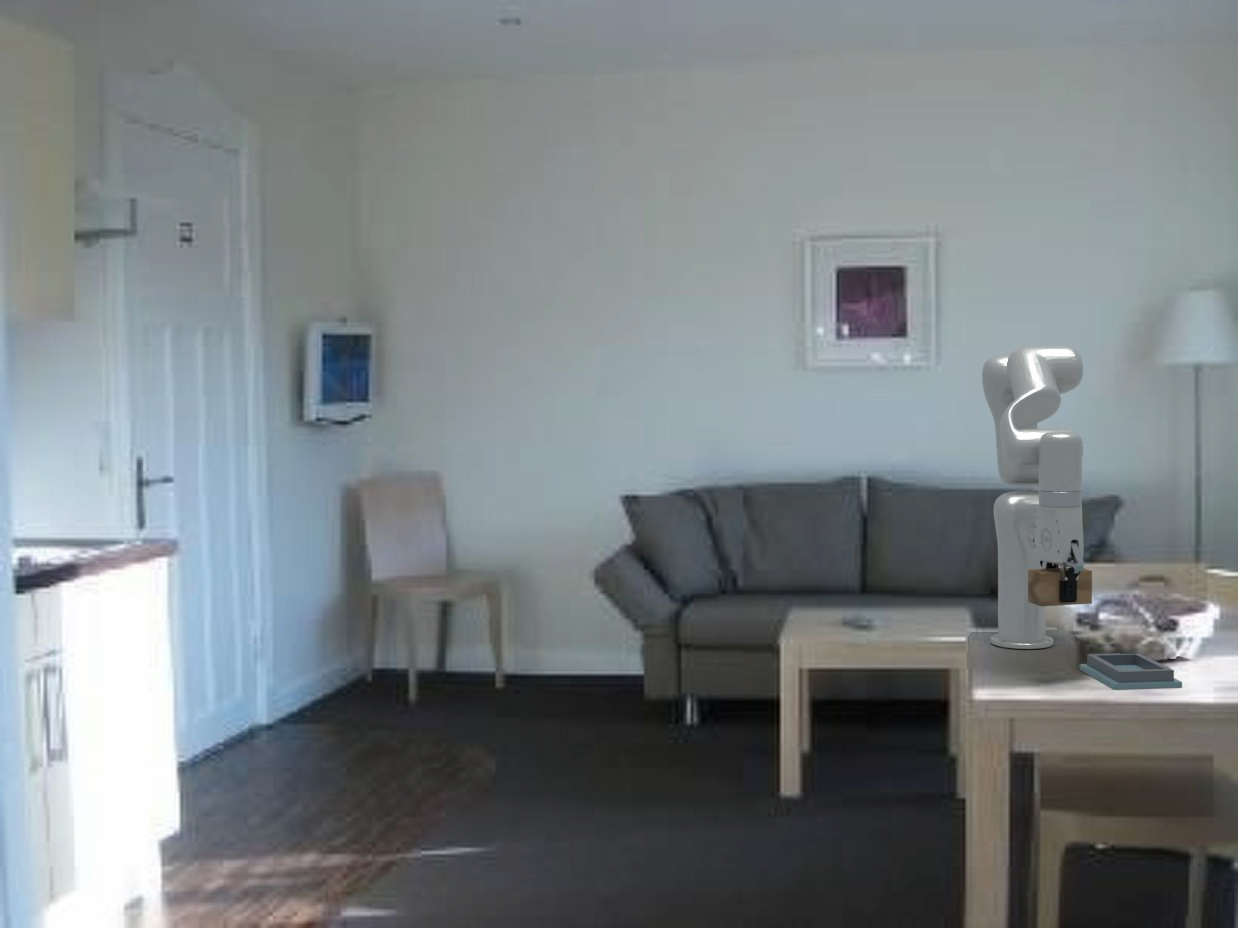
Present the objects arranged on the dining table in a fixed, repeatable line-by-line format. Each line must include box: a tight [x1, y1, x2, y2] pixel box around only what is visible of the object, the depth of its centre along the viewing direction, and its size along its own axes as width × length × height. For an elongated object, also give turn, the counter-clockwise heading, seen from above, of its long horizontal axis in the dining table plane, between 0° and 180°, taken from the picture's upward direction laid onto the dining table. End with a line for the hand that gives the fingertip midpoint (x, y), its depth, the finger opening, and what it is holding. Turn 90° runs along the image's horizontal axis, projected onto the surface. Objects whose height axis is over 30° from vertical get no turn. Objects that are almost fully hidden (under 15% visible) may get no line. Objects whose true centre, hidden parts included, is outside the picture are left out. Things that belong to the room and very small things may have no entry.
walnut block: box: [1028, 567, 1093, 607], centre depth 273 cm, size 5×10×6 cm, turn 101°
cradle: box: [1079, 653, 1183, 690], centre depth 275 cm, size 17×12×3 cm
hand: (1059, 598), depth 273 cm, fingers closed on walnut block, 5 cm apart
